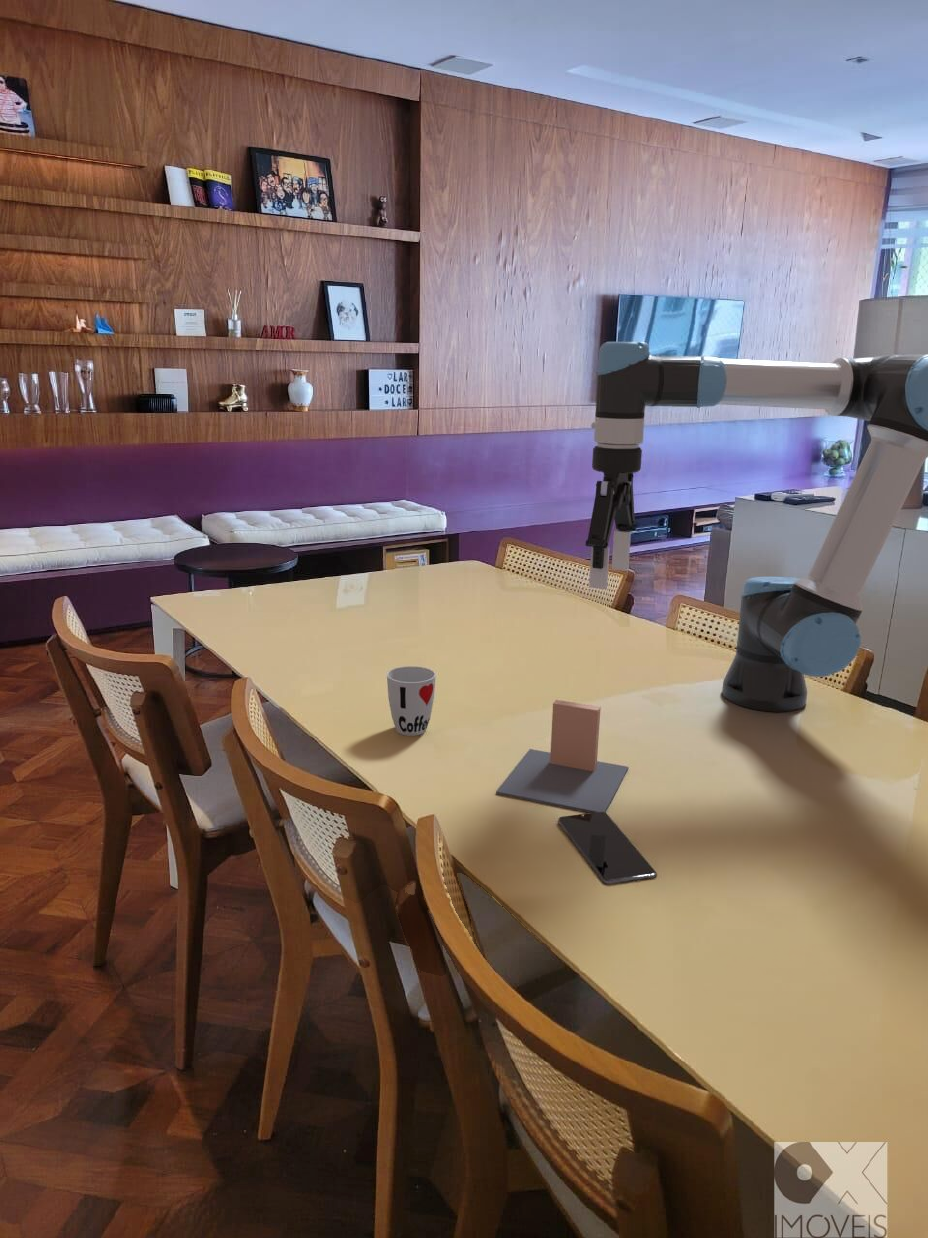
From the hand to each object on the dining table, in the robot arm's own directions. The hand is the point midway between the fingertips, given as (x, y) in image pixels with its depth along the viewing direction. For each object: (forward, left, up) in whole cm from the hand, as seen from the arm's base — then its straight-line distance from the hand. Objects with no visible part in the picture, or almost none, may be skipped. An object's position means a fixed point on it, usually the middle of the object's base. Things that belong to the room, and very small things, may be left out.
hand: (609, 578), depth 147 cm
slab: (0, +16, -26) cm, 31 cm away
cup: (+29, +13, -27) cm, 42 cm away
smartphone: (-10, +37, -27) cm, 47 cm away
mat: (0, +21, -27) cm, 34 cm away
